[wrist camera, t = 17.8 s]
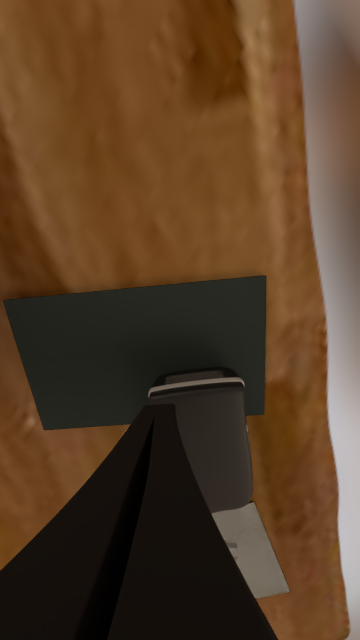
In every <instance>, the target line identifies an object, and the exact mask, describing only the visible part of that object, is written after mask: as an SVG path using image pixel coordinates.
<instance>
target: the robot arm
mask: <svg viewBox="0 0 360 640" xmlns="http://www.w3.org/2000/svg"><path fill="white" fill-rule="evenodd" d="M0 640H278V638H277V637H276V635H275V633H274V631H273V629H272V628H271V626H270V624H269V622H268V620H267V619H266V617H265V615H264V613H263V612H262V610H261V608H260V606H259V604H258V603H257V601H256V599H255V597H254V595H253V594H252V592H251V590H250V588H249V586H248V584H247V582H246V581H245V579H244V577H243V575H242V573H241V571H240V569H239V567H238V565H237V563H236V561H235V560H234V558H233V556H232V554H231V552H230V550H229V548H228V546H227V544H226V542H225V540H224V539H223V537H222V535H221V533H220V531H219V529H218V526H217V524H216V522H215V520H214V518H213V516H212V514H211V512H210V510H209V508H208V505H207V503H206V501H205V499H204V497H203V494H202V492H201V490H200V488H199V485H198V483H197V480H196V478H195V476H194V473H193V471H192V468H191V465H190V463H189V460H188V457H187V455H186V452H185V449H184V446H183V442H182V439H181V436H180V432H179V429H178V424H177V414H176V406H175V405H174V404H173V403H172V404H156V405H144V406H143V408H142V409H141V410H140V412H139V413H138V415H137V416H136V418H135V419H134V421H133V422H132V424H131V425H130V426H129V428H128V429H127V431H126V432H125V433H124V435H123V436H122V437H121V439H120V440H119V442H118V443H117V444H116V446H115V447H114V448H113V450H112V451H111V452H110V453H109V455H108V456H107V457H106V458H105V460H104V461H103V462H102V463H101V465H100V466H99V467H98V468H97V469H96V471H95V472H94V473H93V474H92V476H91V477H90V478H89V479H88V480H87V481H86V483H85V484H84V485H83V486H82V487H81V488H80V489H79V491H78V492H77V493H76V494H75V495H74V496H73V497H72V498H71V499H70V501H69V502H68V503H67V504H66V505H65V506H64V507H63V508H62V509H61V510H60V511H59V512H58V514H57V515H56V516H55V517H54V518H53V519H52V520H51V521H50V522H49V523H48V524H47V525H46V526H45V527H44V528H43V529H42V530H41V531H40V532H39V533H38V534H37V535H36V536H35V537H34V538H33V539H32V540H31V541H30V542H29V543H28V544H27V545H26V546H25V547H24V548H23V549H22V550H21V551H20V552H19V553H18V554H17V555H16V556H15V557H14V558H13V559H12V560H11V561H10V562H9V563H8V564H7V565H6V566H5V567H4V568H3V569H2V570H1V571H0Z"/></svg>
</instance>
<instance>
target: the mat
mask: <svg viewBox="0 0 360 640" xmlns="http://www.w3.org/2000/svg"><path fill="white" fill-rule="evenodd" d="M3 303H4V306H5V309H6V313H7V316H8V319H9V322H10V325H11V328H12V331H13V334H14V338H15V341H16V344H17V347H18V350H19V353H20V356H21V360H22V363H23V366H24V369H25V372H26V375H27V378H28V382H29V385H30V388H31V391H32V394H33V397H34V400H35V403H36V407H37V410H38V413H39V416H40V419H41V422H42V425H43V429H44V430H54V429H68V428H82V427H96V426H110V425H124V424H132V422H133V421H134V419H135V418H136V416H137V415H138V413H139V412H140V410H141V409H142V408H143V406H144V405H150V402H149V396H148V394H149V390H150V389H151V387H152V385H153V383H154V381H155V380H156V379H157V378H158V377H159V376H161V375H163V374H167V373H171V372H177V371H184V370H191V369H200V368H210V367H227V368H230V369H232V370H233V371H234V372H235V373H236V374H237V375H238V376H239V378H241V379H242V380H243V382H244V388H245V408H246V416H248V415H262V414H264V390H265V328H266V276H253V277H243V278H232V279H221V280H211V281H200V282H190V283H179V284H168V285H158V286H147V287H137V288H126V289H115V290H105V291H94V292H84V293H73V294H62V295H52V296H41V297H30V298H20V299H9V300H3Z"/></svg>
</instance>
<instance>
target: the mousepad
mask: <svg viewBox="0 0 360 640" xmlns="http://www.w3.org/2000/svg"><path fill="white" fill-rule="evenodd" d="M212 516H213V518H214V520H215V522H216V524H217V526H218V529H219V531H220V533H221V535H222V537H223V539H224V540H225V542H226V544H227V546H228V548H229V550H230V552H231V554H232V556H233V558H234V560H235V561H236V563H237V565H238V567H239V569H240V571H241V573H242V575H243V577H244V579H245V581H246V582H247V584H248V586H249V588H250V590H251V592H252V594H253V595H254V597H255V599H259V598H263V597H268V596H272V595H277V594H281V593H286V592H290V590H289V588H288V585H287V583H286V580H285V578H284V575H283V573H282V570H281V568H280V565H279V563H278V560H277V558H276V555H275V553H274V550H273V548H272V545H271V543H270V540H269V538H268V536H267V533H266V531H265V528H264V526H263V523H262V521H261V518H260V516H259V513H258V511H257V508H256V506H255V503H254V502H253V503H250V504H247V505H246V506H244V507H242V508H239V509H234V510H226V511H220V512H216V513H213V514H212Z"/></svg>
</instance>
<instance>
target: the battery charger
mask: <svg viewBox="0 0 360 640" xmlns="http://www.w3.org/2000/svg"><path fill="white" fill-rule="evenodd" d="M148 396H149V402H150V405H156V404H172V403H173V404H174V405H175V406H176V414H177V424H178V429H179V432H180V436H181V439H182V442H183V446H184V449H185V452H186V455H187V457H188V460H189V463H190V465H191V468H192V471H193V473H194V476H195V478H196V480H197V483H198V485H199V488H200V490H201V492H202V494H203V497H204V499H205V501H206V503H207V505H208V508H209V510H210V512H217V511H226V510H234V509H239V508H242V507H244V506H246V505H247V504H248V503H249V502H250V500H251V497H252V491H253V482H252V463H251V453H250V445H249V437H248V429H247V423H246V408H245V388H244V382H243V380H242V379H241V378H239V376H238V375H237V374H236V373H235V372H234V371H233V370H232V369H230V368H227V367H210V368H200V369H191V370H184V371H177V372H171V373H167V374H163V375H161V376H159V377H158V378H157V379H156V380H155V381H154V383H153V385H152V387H151V389H150V390H149V394H148Z"/></svg>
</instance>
